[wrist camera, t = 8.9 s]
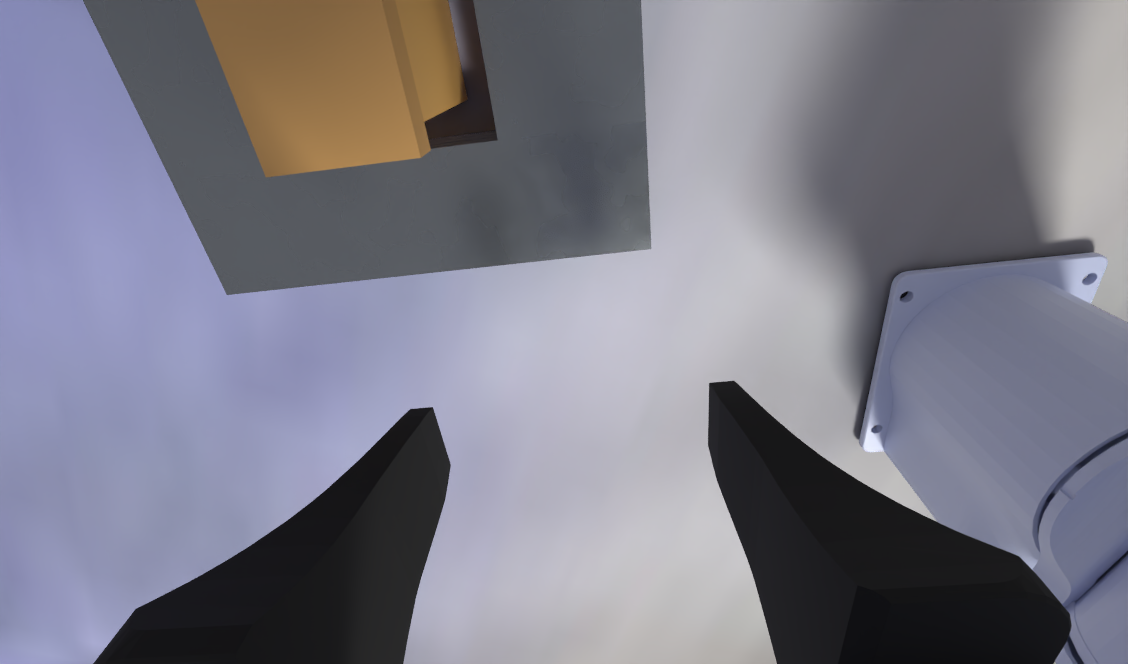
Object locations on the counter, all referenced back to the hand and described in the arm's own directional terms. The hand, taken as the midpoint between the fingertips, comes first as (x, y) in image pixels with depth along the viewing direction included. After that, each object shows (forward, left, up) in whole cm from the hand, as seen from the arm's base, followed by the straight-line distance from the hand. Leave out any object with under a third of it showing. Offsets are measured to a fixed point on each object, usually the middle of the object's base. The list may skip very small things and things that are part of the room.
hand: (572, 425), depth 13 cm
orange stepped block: (+10, +5, -10) cm, 15 cm away
